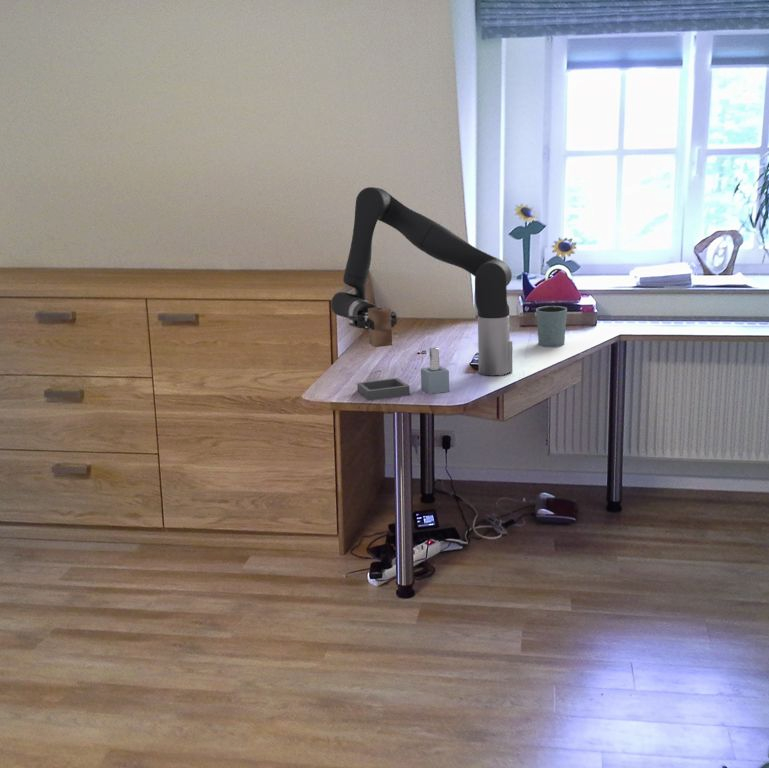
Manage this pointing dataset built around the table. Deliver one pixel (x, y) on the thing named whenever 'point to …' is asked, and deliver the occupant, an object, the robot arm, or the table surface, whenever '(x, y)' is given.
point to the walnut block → (380, 326)
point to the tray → (383, 388)
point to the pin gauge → (434, 359)
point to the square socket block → (435, 380)
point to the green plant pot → (551, 325)
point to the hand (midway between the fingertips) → (382, 324)
